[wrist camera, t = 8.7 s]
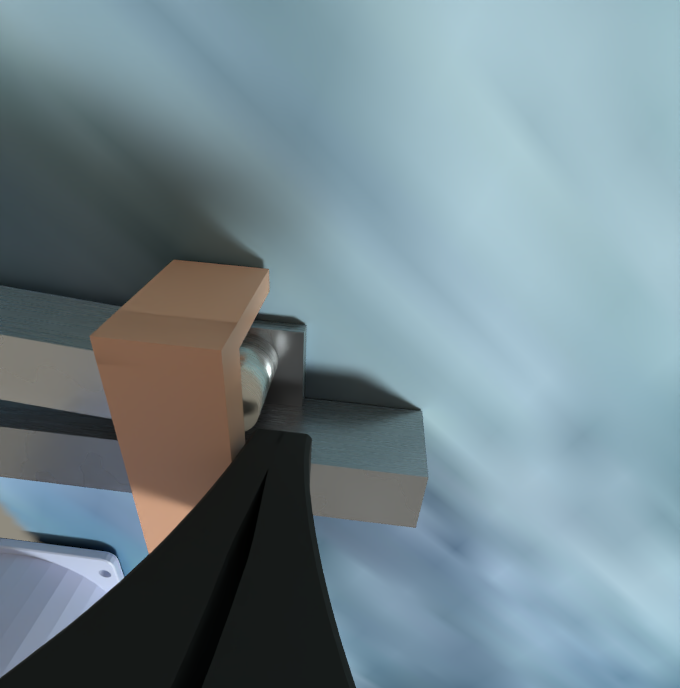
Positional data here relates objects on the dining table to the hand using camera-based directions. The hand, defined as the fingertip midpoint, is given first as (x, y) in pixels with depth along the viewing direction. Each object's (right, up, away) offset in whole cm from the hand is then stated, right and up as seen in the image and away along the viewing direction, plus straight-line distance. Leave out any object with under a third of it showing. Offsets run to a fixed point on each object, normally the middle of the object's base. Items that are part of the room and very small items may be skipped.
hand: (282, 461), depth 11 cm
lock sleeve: (-2, +2, +3) cm, 4 cm away
